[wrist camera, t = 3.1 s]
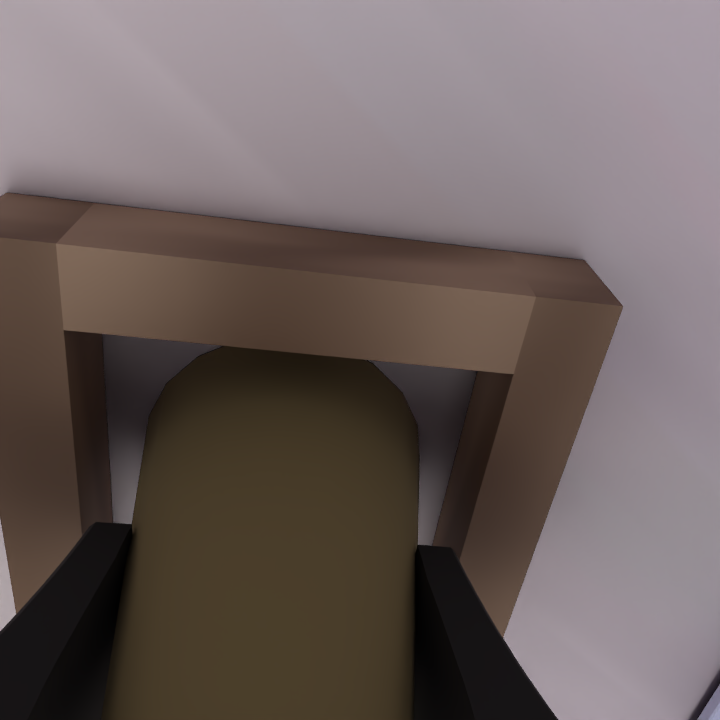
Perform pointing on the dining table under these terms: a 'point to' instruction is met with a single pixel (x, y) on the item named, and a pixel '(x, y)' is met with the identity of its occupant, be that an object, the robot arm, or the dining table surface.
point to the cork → (271, 546)
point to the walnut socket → (287, 334)
